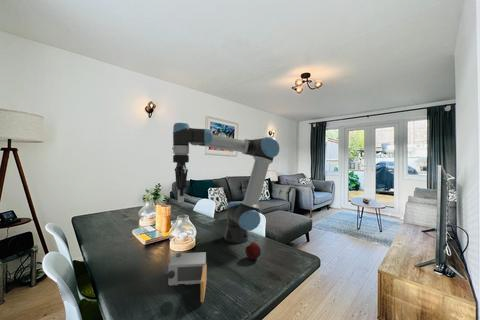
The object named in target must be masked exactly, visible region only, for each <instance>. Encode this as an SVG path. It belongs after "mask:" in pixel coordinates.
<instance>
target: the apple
mask: <svg viewBox="0 0 480 320" xmlns="http://www.w3.org/2000/svg"><path fill="white" fill-rule="evenodd" d="M261 253H262V250H261V247H260V245H259V244H258V243H256V242H254V241H252V242H251V243H250V244H248V245H247V246H246V247H245V254H246V256H247V257H246V258H248V259H250V260H251V261H253V260H257V259H258V258H259V257H260V256H261Z"/></svg>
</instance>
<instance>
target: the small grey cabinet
mask: <svg viewBox="0 0 480 320" xmlns="http://www.w3.org/2000/svg"><path fill="white" fill-rule="evenodd" d="M204 264H207V252H206V251H205V252H204V251H203V252H201V251H200V252H178V253H173V255H172V257H171V259H170V261H169V264H168V266H167V267H168V268H167V269H168V274H167V279H168V280H167V281H168V285H169V286H179V285H178V284H185V285H197V284H198V285H199V284H200V285H201V277H202V272H203V267H204Z"/></svg>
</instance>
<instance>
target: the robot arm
mask: <svg viewBox="0 0 480 320" xmlns="http://www.w3.org/2000/svg"><path fill="white" fill-rule="evenodd" d="M172 129H173V130H172V153H173V155H172V162H173V163H176V166H175V168H174V172H175V187H176V188H177V203H178V204H181V203H184V202H185V189H186V188H187V178H188V172H189V169H188V168H187V166H186V164H187V163H189V162H190V155H189V154H190V145H191V146H194V147H195V146H199V147H208V148H213V149H220V150H227V151H232V152H239V153H241V154H242V155H247V156H251V157H252V159H254V163H253V167H252V170H251V173H250V177H249V181H248V184H247V186H246V191H245V195H244V196H243V197H244V198H243V200H242V201H240V200H238V201H230V202H228V203H227V206H226V209H227V211H226V217H227V218H226V219H227V221H226V222H227V223H226V224H227V225H226V229H225V232H224V240H225V242H228V243H230V244H231V243H232V244H242V243H246V242H247V241H249V233H248V232H250V231H253V230H255V229H257V228H258V227H259V226H260V223H261V216H260V209H261V208H260V205H259V203H260V199H261V195H262V192H263V188H264V184H265V181H266V180H265V179H266V178H267V177H266V176H267V173H268V171H269V170H268V169H269V166H270V165H271V164H272V163H273V161H274V158H275V157H277V156H278V155H279V153H280V150H281V149H280V144H279V142H278V140H277V139H276V138H274V137H271V136H270V137H269V136H266V137H262V138H255V139H247V138H245V139H240V138H239V139H238V138H234V137H233V138H232V137H228V136H221V135H215V134H213V131H212V129H210V128H209V129H208V128H192V127H190V125H189V123H187V122H175V123H174V124H173V127H172Z"/></svg>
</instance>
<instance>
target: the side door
mask: <svg viewBox="0 0 480 320" xmlns="http://www.w3.org/2000/svg"><path fill="white" fill-rule="evenodd" d="M207 265H208V264H207V263H206V264H204V267H203V272H202V277H201V284H200V303H204V301H205V295H206V287H207V282H208V281H207V278H208V277H207V276H208V273H207V271H208V269H207V267H208V266H207Z"/></svg>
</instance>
